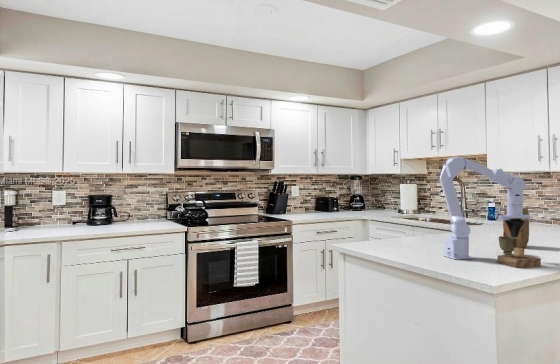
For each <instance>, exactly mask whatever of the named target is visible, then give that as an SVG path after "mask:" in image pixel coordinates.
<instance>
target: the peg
mask: <svg viewBox="0 0 560 364" xmlns="http://www.w3.org/2000/svg"><path fill="white" fill-rule="evenodd" d="M513 255H514V258H518V259H522V258H524V255H525V248H517V247H516V248H514V251H513Z"/></svg>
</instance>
